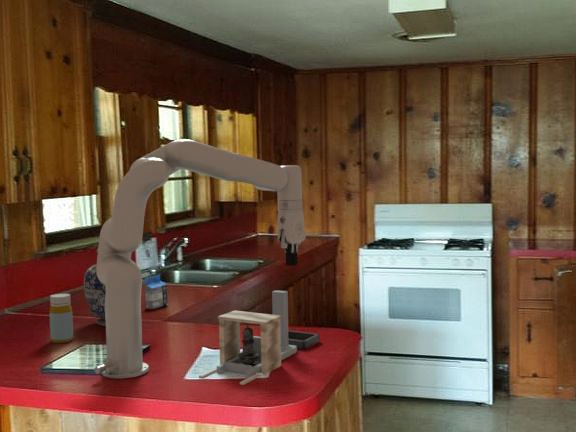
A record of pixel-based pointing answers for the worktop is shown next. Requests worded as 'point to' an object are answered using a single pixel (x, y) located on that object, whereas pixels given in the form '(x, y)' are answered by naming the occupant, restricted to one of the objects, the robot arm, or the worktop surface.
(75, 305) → the worktop surface
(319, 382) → the worktop surface
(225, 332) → the tunnel
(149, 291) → the label tape box
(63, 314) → the bottle
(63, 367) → the worktop surface
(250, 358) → the dark grey upright piece
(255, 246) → the worktop surface
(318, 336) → the dark grey flat tray
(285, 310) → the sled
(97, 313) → the decorative vase
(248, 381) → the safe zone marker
